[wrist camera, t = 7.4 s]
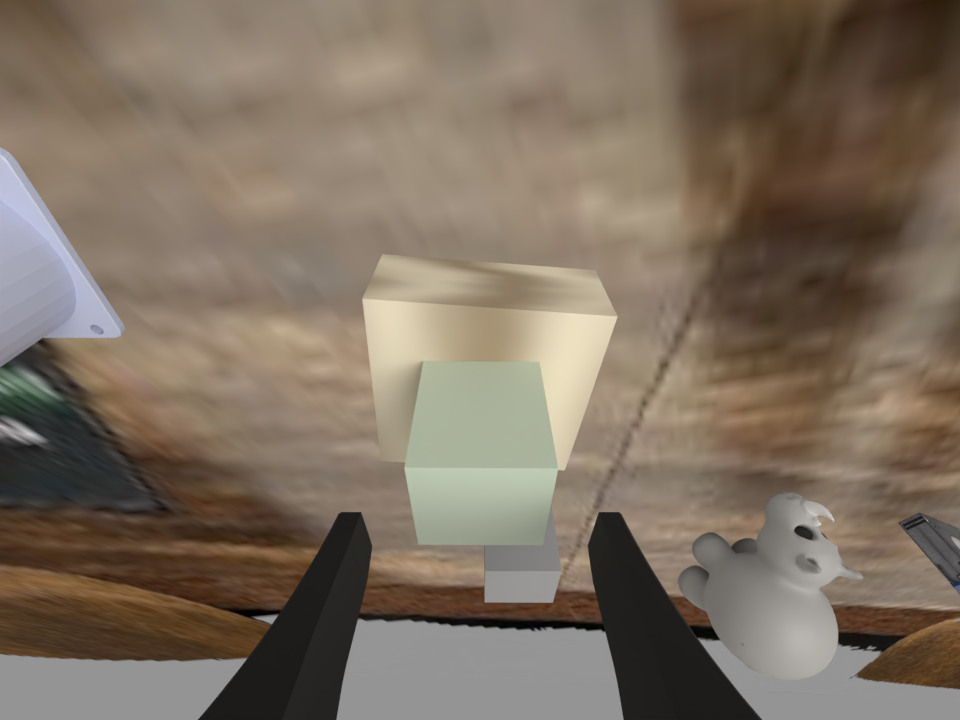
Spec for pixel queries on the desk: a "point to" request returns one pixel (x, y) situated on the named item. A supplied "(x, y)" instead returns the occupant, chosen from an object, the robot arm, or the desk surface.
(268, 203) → the desk surface
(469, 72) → the desk surface
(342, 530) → the robot arm
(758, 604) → the round bodied animal figurine
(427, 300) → the birch block
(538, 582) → the grey cube
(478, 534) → the sage cube
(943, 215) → the desk surface
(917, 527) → the mini dv tape
